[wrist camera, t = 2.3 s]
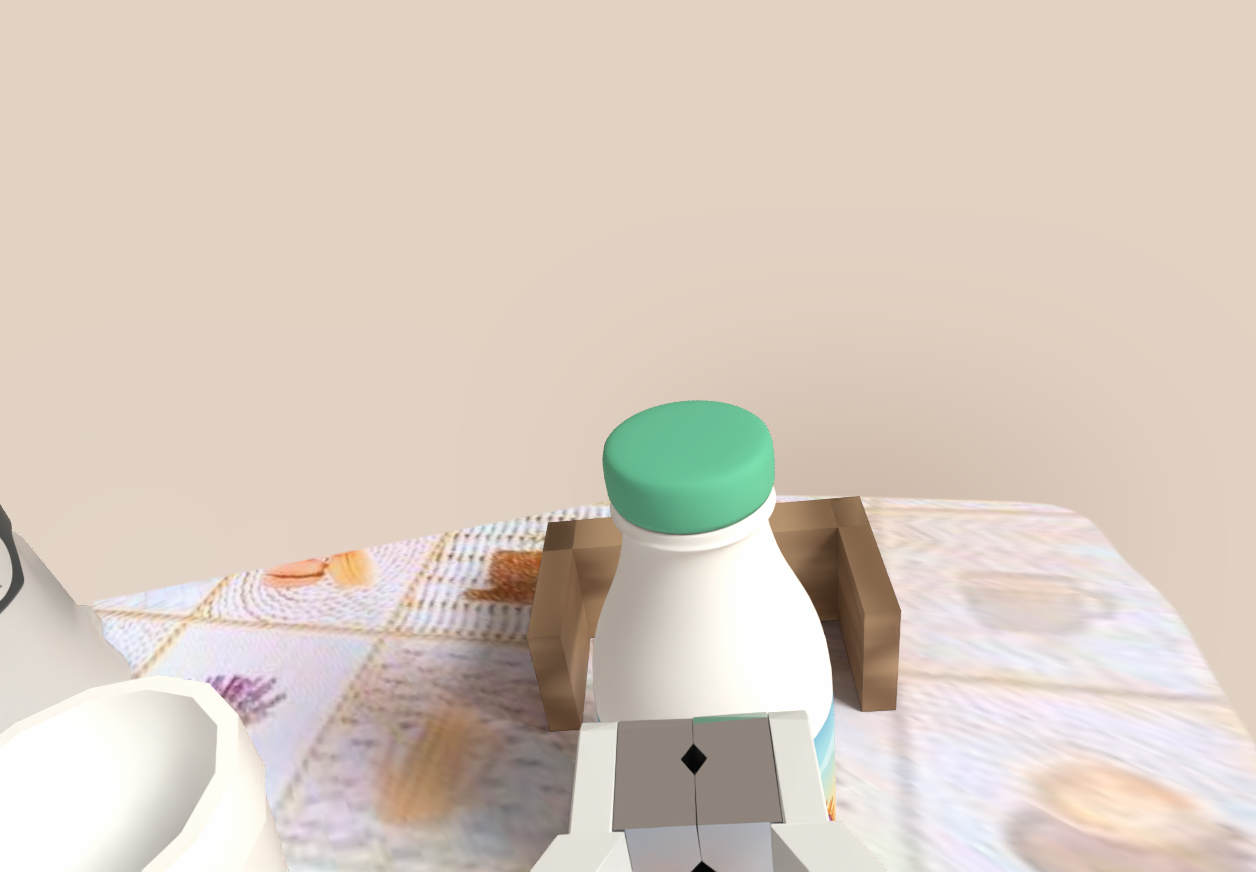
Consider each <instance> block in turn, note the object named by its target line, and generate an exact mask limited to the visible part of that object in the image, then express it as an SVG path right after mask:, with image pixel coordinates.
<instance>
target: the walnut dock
mask: <svg viewBox="0 0 1256 872" xmlns="http://www.w3.org/2000/svg"><path fill="white" fill-rule="evenodd" d="M768 521H769V524H770V527H771V530H772V533H773V535H774V538H775V540H776V543H777V545H778V547H779V549H780V551H781V553H782V555H783V557H784V558H785V560H786V562H787V563H788V565H789V566H790V568H791V569H792V571H793V572H794V574H795V575H796V577H797V578H798V580H799V581H800V583H801V584H802V586H803V587H804V589H805V591H806V592H807V594H808V596H809V597H810V599H811V602H812V604H813V606H814V608H815V610H816V612H817V614H818V617H819V620H820V621H831V620H838V622H839V625H840V629H841V633H842V637H843V640H844V644H845V648H846V652H847V656H848V659H849V663H850V667H851V671H852V674H853V678H854V682H855V686H856V689H857V693H858V697H859V701H860V704H861V708H862V712H867V711H883V710H896V699H897V679H898V660H899V640H900V620H901V609H900V607H899V604H898V601H897V598H896V596H895V593H894V590H893V587H892V585H891V582H890V579H889V576H888V574H887V571H886V568H885V565H884V563H883V560H882V557H881V554H880V551H879V549H878V546H877V543H876V540H875V538H874V535H873V532H872V529H871V527H870V524H869V521H868V518H867V516H866V513H865V510H864V507H863V505H862V502H861V499H860V496H856V497H844V498H832V499H821V500H809V501H797V502H785V503H775V507H774V510H773V512H772V514H771V516H770V517H769V519H768ZM622 537H623V533H622V532H621V531H620V530H619V529H618V528H617V527H616V525H615V523H614V522H613V520H612V517H608V518H597V519H585V520H573V521H561V522H549V523H548V526H547V532H546V537H545V542H544V548H543V553H542V558H541V564H540V569H539V574H538V580H537V585H536V590H535V596H534V601H533V606H532V612H531V617H530V622H529V628H528V633H527V641H528V645H529V649H530V653H531V657H532V661H533V665H534V669H535V673H536V677H537V681H538V685H539V689H540V693H541V697H542V701H543V704H544V708H545V712H546V716H547V720H548V724H549V728H550V731H560V730H576V729H580V728H581V725H582V720H583V709H584V699H585V689H586V678H587V668H588V657H589V647H590V638H595V634H596V629H597V625H598V621H599V617H600V614H601V611H602V608H603V605H604V602H605V600H606V597H607V595H608V592H609V590H610V587H611V585H612V582H613V579H614V577H615V573H616V570H617V567H618V563H619V559H620V553H621V547H622Z"/></svg>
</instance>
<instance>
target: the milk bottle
mask: <svg viewBox="0 0 1256 872" xmlns="http://www.w3.org/2000/svg"><path fill="white" fill-rule="evenodd" d="M774 465H775V460H774V451H773V442H772V439H771V436H770V433H769V431H768V428H767V427H766V425H765V424H764V422H763V421H762V420H761V419H760V418H758V417H757V416H756V415H754V414H752V413H751V412H749V411H747V410H745V409H742V408H740V407H737V406H734V405H731V404H727V403H722V402H715V401H698V400H697V401H681V402H674V403H668V404H664V405H660V406H656V407H653V408H650V409H647V410H644V411H642V412H640V413H637V414H635V415H634V416H632V417H630V418H628V419H627V420H625V421H624V422H623V423H621V424H620V425H619V426H618V427H617V428H615V429H614V430H613V432H612V433H611V434H610V435H609V437H608V438H607V440H606V442H605V445H604V451H603V470H604V478H605V483H606V488H607V492H608V496H609V499H610V501H611V505H610V512H611V517H612V520H613V522H614V523H615V525H616V527H617V528H618V529H619V530H620V531H621V532H622V533H623V537H622V547H621V553H620V559H619V563H618V567H617V570H616V573H615V577H614V579H613V582H612V585H611V587H610V590H609V592H608V595H607V597H606V600H605V602H604V605H603V608H602V611H601V614H600V617H599V621H598V625H597V629H596V634H595V640H594V649H593V689H594V697H595V703H596V710H597V717H598V722H613V721H633V720H662V719H691V718H693V717H701V716H715V715H728V714H742V713H755V712H766V713H767V714H768V712H780V711H796V710H805V711H806V712H807V714H808V716H809V719H810V724H811V729H812V734H813V739H814V745H815V750H816V755H817V760H818V765H819V770H820V775H821V780H822V785H823V790H824V796H825V801H826V806H827V811H828V816H829V821H835V729H834V703H833V687H832V671H831V664H830V658H829V653H828V647H827V642H826V638H825V635H824V632H823V629H822V626H821V623H820V620H819V617H818V614H817V612H816V610H815V608H814V606H813V604H812V602H811V599H810V597H809V596H808V594H807V592H806V591H805V589H804V587H803V586H802V584H801V583H800V581H799V580H798V578H797V577H796V575H795V574H794V572H793V571H792V569H791V568H790V566H789V565H788V563H787V562H786V560H785V558H784V557H783V555H782V553H781V551H780V549H779V547H778V545H777V543H776V540H775V538H774V535H773V533H772V530H771V527H770V524H769V521H768V519H769V517H770V516H771V514H772V512H773V510H774V507H775V502H776V493H775V489H774V486H773V484H774V474H775V471H774V470H775V466H774Z"/></svg>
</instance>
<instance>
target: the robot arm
mask: <svg viewBox="0 0 1256 872" xmlns="http://www.w3.org/2000/svg"><path fill="white" fill-rule="evenodd" d="M129 680H132V678H131V670H130V667H129V664H128V662H127V660H126V659H125V658H124V656H123V655H122V654H121V653H120V652H119V651H118V650H116V649H115V648H114V647H113V646H112V645H111V644H110V643H109V642H108V641H106V640H105V639H104V637H103V625H102V621H101V619H100V618H99V616H98V615H97V614H96V613H95V611H94V610H93V609H92V608H91V607H90V606H87V605H80V606H78V605H77V604H76V603H75V602H74V600H73V599H72V598H71V597H70V595H69V594H68V593H67V591H66V590H65V589H64V588H63V587H62V585H61V584H60V583H59V581H58V580H57V579H56V578H55V576H54V575H53V574H52V573H51V572H50V570H49V569H48V568H47V566H46V565H45V564H44V563H43V562H42V560H41V559H40V558H39V557H38V555H37V554H36V553H35V552H34V551H33V549H32V548H31V547H30V546H29V544H28V543H27V542H26V541H25V540H24V538H23V537H22V536H21V535H20V534H19V533H18V532H16V531H14V530H12V527H11V522H10V519H9V518H8V516H7V515H6V513H5V511H4V510H3V508H2V507H1V505H0V734H1V733H3V732H4V731H5V730H7V729H8V728H9V727H11V726H12V725H14V724H15V723H17V722H19V721H21V720H23V719H25V718H27V717H30V716H32V715H34V714H36V713H38V712H40V711H42V710H45V709H47V708H49V707H51V706H53V705H55V704H58V703H60V702H62V701H64V700H66V699H68V698H70V697H73V696H75V695H77V694H79V693H81V692H83V691H86V690H88V689H90V688H95V687H99V686H104V685H109V684H114V683H119V682H124V681H129ZM529 872H889V871H888V870H887V869H886V868H885V867H884V866H883V865H882V864H881V863H880V862H879V861H878V860H877V859H876V857H875V856H874V855H873V854H872V853H871V852H870V851H869V850H868V849H867V848H866V847H865V846H864V845H863V844H862V843H861V841H860V840H859V839H858V838H857V837H856V836H855V835H854V834H853V833H852V832H851V831H850V830H849V829H848V828H847V826H846V825H845V824H844V823H843V822H842V821H829V816H828V811H827V806H826V801H825V796H824V790H823V785H822V780H821V775H820V770H819V765H818V760H817V755H816V750H815V745H814V739H813V734H812V729H811V724H810V719H809V716H808V714H807V712H806V711H805V710H796V711H780V712H768V714H767V713H766V712H755V713H742V714H728V715H715V716H701V717H693V718H691V719H662V720H633V721H613V722H591V723H582V725H581V728H580V731H579V734H578V743H577V753H576V762H575V772H574V782H573V792H572V801H571V811H570V821H569V831H568V834H561V835H557V836H556V837H555V838H554V839H553V841H552V842H551V843H550V845H549V846H548V847H547V849H546V850H545V851H544V852H543V854H542V855H541V856H540V858H539V859H538V860H537V862H536V863H535V864H534V866H533V867H532V868H531V869H530V871H529Z"/></svg>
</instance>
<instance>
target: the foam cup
mask: <svg viewBox="0 0 1256 872" xmlns="http://www.w3.org/2000/svg"><path fill="white" fill-rule="evenodd" d="M0 872H289V869H288V866H287V863H286V859H285V856H284V853H283V849H282V846H281V843H280V839H279V836H278V833H277V829H276V826H275V823H274V819H273V816H272V813H271V809H270V806H269V803H268V799H267V796H266V793H265V765H264V763H263V761H262V760H261V758H260V756H259V754H258V752H257V750H256V748H255V746H254V744H253V742H252V740H251V738H250V737H249V735H248V733H247V731H246V729H245V727H244V725H243V723H242V721H241V719H240V717H239V715H238V714H237V713H236V712H235V711H234V710H233V709H232V708H231V707H230V706H229V705H228V703H227V702H226V701H225V700H224V699H223V698H222V697H221V696H220V695H219V694H218V693H217V692H216V691H215V690H214V688H213V687H212V686H211V685H210V684H209V683H203V682H197V681H191V680H185V679H179V678H173V677H167V676H161V675H154V676H149V677H144V678H139V679H134V680H129V681H124V682H119V683H114V684H109V685H104V686H99V687H95V688H90V689H88V690H86V691H83V692H81V693H79V694H77V695H75V696H73V697H70V698H68V699H66V700H64V701H62V702H60V703H58V704H55V705H53V706H51V707H49V708H47V709H45V710H42V711H40V712H38V713H36V714H34V715H32V716H30V717H27V718H25V719H23V720H21V721H19V722H17V723H15V724H14V725H12V726H11V727H9V728H8V729H7V730H5V731H4V732H3V733H1V734H0Z"/></svg>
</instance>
